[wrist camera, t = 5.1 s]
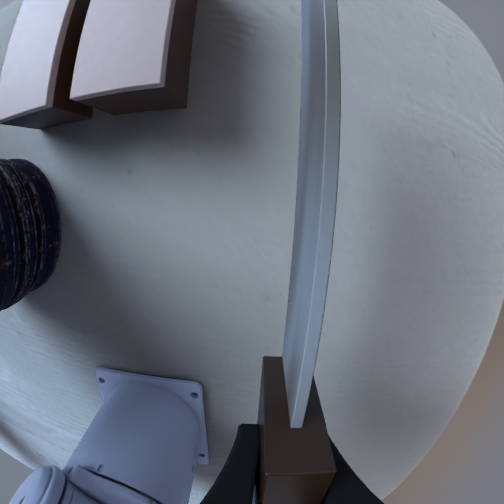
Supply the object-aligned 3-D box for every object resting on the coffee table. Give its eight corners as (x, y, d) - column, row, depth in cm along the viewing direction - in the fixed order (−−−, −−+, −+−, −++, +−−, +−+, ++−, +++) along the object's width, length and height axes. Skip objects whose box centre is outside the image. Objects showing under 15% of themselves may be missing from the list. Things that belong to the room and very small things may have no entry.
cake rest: (91, 118, 14) (45, 105, 10) (39, 129, 15) (-8, 123, 10) (112, 0, 12) (82, -32, 8) (60, 17, 12) (25, -6, 8)
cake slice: (186, 108, 14) (160, 83, 10) (112, 115, 14) (69, 99, 10) (199, -16, 12) (185, -59, 8) (132, -5, 12) (104, -41, 8)
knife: (288, 457, 11) (295, 547, 6) (253, 457, 11) (251, 548, 6) (326, -30, 7) (358, -119, 2) (281, -35, 7) (292, -131, 2)
